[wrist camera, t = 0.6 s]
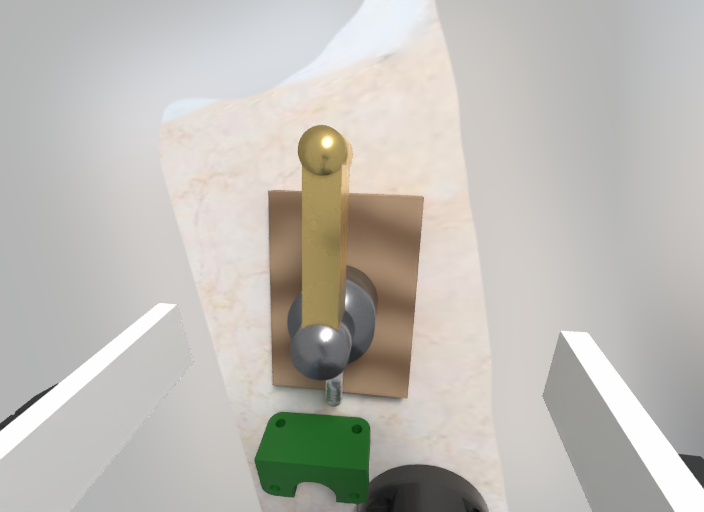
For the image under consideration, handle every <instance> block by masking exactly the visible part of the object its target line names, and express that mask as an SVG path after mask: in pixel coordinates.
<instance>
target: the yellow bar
mask: <svg viewBox="0 0 704 512" xmlns="http://www.w3.org/2000/svg"><path fill="white" fill-rule="evenodd" d="M298 156H299V159H300V162H301V163H302V325H301V327H300V328H299V330H298V331H297V333H296V335H295V336H294V338H293V340H292V342H291V345H290V357H291V360H292V363H293V365H294V366H295V368H296V369H297V370H298V371H299V372H300V373H301V374H303V375H304V376H306V377H308V378H310V379H314V380H320V381H324V380H330V379H333V378H335V377H337V376H338V375H340V374H341V373H342V372H343V370H344V369H345V367H346V365H347V363H348V359H349V355H350V351H351V346H352V342H353V338H354V334H355V325H354V321H353V319H352V317H351V316H350V314H349V313H348V312H347V311H346V310H345V297H346V265H347V233H348V201H349V169H350V165H351V163H352V160H353V149H352V146H351V144H350V143H349V141H348V140H347V139H346V138H345V137H343V136H342V135H341V134H340V133H338V132H337V131H336V130H335V129H333V128H331V127H329V126H325V125H318V126H314V127H312V128H310V129H308V130H307V131H306V132H305V133H304V134H303V135H302V137H301V139H300V141H299V145H298Z"/></svg>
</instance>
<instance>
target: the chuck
mask: <svg viewBox="0 0 704 512" xmlns="http://www.w3.org/2000/svg"><path fill="white" fill-rule="evenodd" d="M377 305H378V297H377V292H376V288H375V286H374V284H373V283H372V281H371V280H370V278H369V277H368V276H367V275H366V274H365V273H363V272H362V271H361V270H359V269H357V268H355V267H352V266H348V265H346V297H345V310H346V311H347V312H348V313H349V314H350V316H351V317H352V319H353V321H354V325H355V334H354V338H353V342H352V346H351V351H350V355H349V359H348V363H347V364H349V363H352V362H354V361H356V360H357V359H359V358H360V357H361V356H362V355H364V354H365V352H366V351H367V350H368V348H369V347H370V345H371V343H372V340H373V337H374V330H375V322H376V313H377ZM301 325H302V291H301V293H300V294H299V295H298V296H297V298H296V299H295V300H294V302H293V303H292V305H291V307H290V310H289V312H288V317H287V327H288V333H289V336H290V338H291V340H293V338H294V336H295V335H296V333H297V331H298V330H299V328H300V327H301ZM343 374H344V370H343V372H342V373H341V374H340V375H338V376H337V377H335V378H333V379H330V380H326V401H327V403H328V404H329V405H331V406H337V405H339V404H340V403H341V402H342V399H343Z"/></svg>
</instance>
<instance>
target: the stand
mask: <svg viewBox="0 0 704 512" xmlns="http://www.w3.org/2000/svg"><path fill="white" fill-rule="evenodd" d="M268 197H269V242H270V286H271V330H272V374H273V385H281V386H290V387H300V388H310V389H320V390H326V380H324V381H320V380H314V379H310V378H308V377H306V376H304V375H303V374H301V373H300V372H299V371H298V370H297V369H296V368H295V366H294V365H293V363H292V360H291V357H290V345H291V342H292V340H291V338H290V336H289V333H288V327H287V317H288V312H289V310H290V307H291V305H292V303H293V302H294V300H295V299H296V298H297V296H298V295H299V294H300V293H301V291H302V191H285V190H272V191H268ZM423 202H424V197H423V196H408V195H384V194H359V193H349V201H348V233H347V265H348V266H352V267H355V268H357V269H359V270H361V271H362V272H363V273H365V274H366V275H367V276H368V277H369V278H370V280H371V281H372V283H373V284H374V286H375V288H376V292H377V297H378V305H377V313H376V322H375V330H374V337H373V340H372V343H371V345H370V347H369V348H368V350H367V351H366V352H365V354H364V355H362V356H361V357H360V358H359V359H357V360H356V361H354V362H352V363H349V364H347V365H346V367H345V369H344V374H343V392H349V393H359V394H369V395H379V396H389V397H398V398H408V386H409V373H410V361H411V349H412V337H413V325H414V312H415V300H416V288H417V276H418V263H419V251H420V239H421V227H422V215H423Z"/></svg>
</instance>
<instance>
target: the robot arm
mask: <svg viewBox="0 0 704 512" xmlns="http://www.w3.org/2000/svg"><path fill="white" fill-rule="evenodd" d="M193 363H194V362H193V358H192V355H191V351H190V347H189V344H188V340H187V337H186V333H185V330H184V326H183V323H182V319H181V316H180V312H179V309H178V305H177V304H163V303H159V304H157V305H156V306H155V307H153V308H152V309H151V310H150V311H149V312H147V313H146V314H145V315H143V316H142V317H141V318H140V319H139V320H137V321H136V322H135V323H134V324H132V325H131V326H130V327H129V328H128V329H126V330H125V331H124V332H123V333H121V334H120V335H119V336H117V337H116V338H115V339H114V340H113V341H111V342H110V343H109V344H108V345H107V346H105V347H104V348H103V349H101V350H100V351H99V352H98V353H97V354H96V355H94V356H93V357H91V358H90V359H89V360H88V361H87V362H85V363H84V364H83V365H82V366H80V367H79V368H78V369H77V370H75V371H74V372H73V373H72V374H71V375H69V376H68V377H67V378H65V379H64V380H63V381H62V382H61V383H58V384H56V385H54V386H52V387H50V388H49V389H47V390H45V391H43V392H42V393H40V394H38V395H36V396H35V397H33V398H32V399H31V400H30V401H28V402H27V403H26V404H24V405H23V406H22V407H21V408H19V409H18V410H17V411H16V412H15V414H14V415H10V416H9V417H8V418H7V419H6V420H4V421H3V422H2V423H0V512H70V511H71V510H72V509H73V508H74V506H75V505H76V504H77V503H78V501H79V500H80V499H81V498H82V497H83V495H84V494H85V493H86V492H87V490H88V489H89V488H90V487H91V486H92V485H93V483H94V482H95V481H96V480H97V478H98V477H99V476H100V475H101V474H102V473H103V471H104V470H105V469H106V468H107V467H108V465H109V464H110V463H111V462H112V460H113V459H114V458H115V457H116V456H117V454H118V453H119V452H120V451H121V450H122V448H123V447H124V446H125V445H126V443H127V442H128V441H129V440H130V439H131V438H132V436H133V435H134V434H135V433H136V431H137V430H138V429H139V428H140V426H141V425H142V424H143V423H144V422H145V421H146V419H147V418H148V417H149V416H150V415H151V413H152V412H153V411H154V410H155V409H156V407H157V406H158V405H159V404H160V403H161V401H162V400H163V399H164V398H165V397H166V395H167V394H168V393H169V392H170V390H171V389H172V388H173V387H174V385H175V384H176V383H177V382H178V381H179V380H180V378H181V377H182V376H183V375H184V374H185V372H186V371H187V370H188V369H189V367H190V366H191V365H192V364H193ZM543 399H544V401H545V403H546V406H547V408H548V410H549V412H550V415H551V417H552V419H553V421H554V424H555V426H556V428H557V431H558V433H559V435H560V438H561V440H562V442H563V445H564V447H565V449H566V452H567V454H568V456H569V459H570V461H571V463H572V466H573V468H574V470H575V473H576V475H577V477H578V479H579V482H580V484H581V486H582V489H583V491H584V493H585V496H586V498H587V500H588V503H589V505H590V507H591V509H592V512H704V459H703V458H702V457H700V456H690V455H682V454H677V453H676V451H675V450H674V449H673V447H672V446H671V444H670V443H669V442H668V440H667V439H666V438H665V436H664V435H663V434H662V432H661V431H660V430H659V428H658V427H657V426H656V424H655V423H654V422H653V420H652V419H651V418H650V416H649V415H648V414H647V412H646V411H645V409H644V408H643V407H642V405H641V404H640V403H639V401H638V400H637V399H636V397H635V396H634V395H633V394H632V392H631V391H630V389H629V388H628V387H627V385H626V384H625V382H624V381H623V380H622V378H621V377H620V376H619V374H618V373H617V372H616V370H615V369H614V368H613V366H612V365H611V364H610V363H609V361H608V360H607V358H606V357H605V356H604V354H603V353H602V351H601V350H600V349H599V348H598V346H597V345H596V344H595V342H594V341H593V339H592V338H591V337H590V335H589V334H588V333H586V332H571V331H560V334H559V338H558V341H557V345H556V349H555V352H554V356H553V360H552V363H551V367H550V371H549V375H548V378H547V382H546V385H545V389H544V393H543ZM358 512H489V511H488V508H487V505H486V503H485V501H484V499H483V497H482V496H481V494H480V493H479V492H478V491H477V489H476V488H475V487H474V486H473V485H472V484H470V483H469V482H468V481H467V480H465V479H464V478H462V477H461V476H459V475H457V474H455V473H453V472H451V471H449V470H446V469H443V468H439V467H435V466H429V465H407V466H401V467H397V468H394V469H391V470H388V471H386V472H384V473H382V474H381V475H379V476H378V477H376V478H375V479H374V480H373V481H371V482H370V483H369V488H368V499H367V501H366V502H364V503H361V504H359V505H358Z"/></svg>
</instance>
